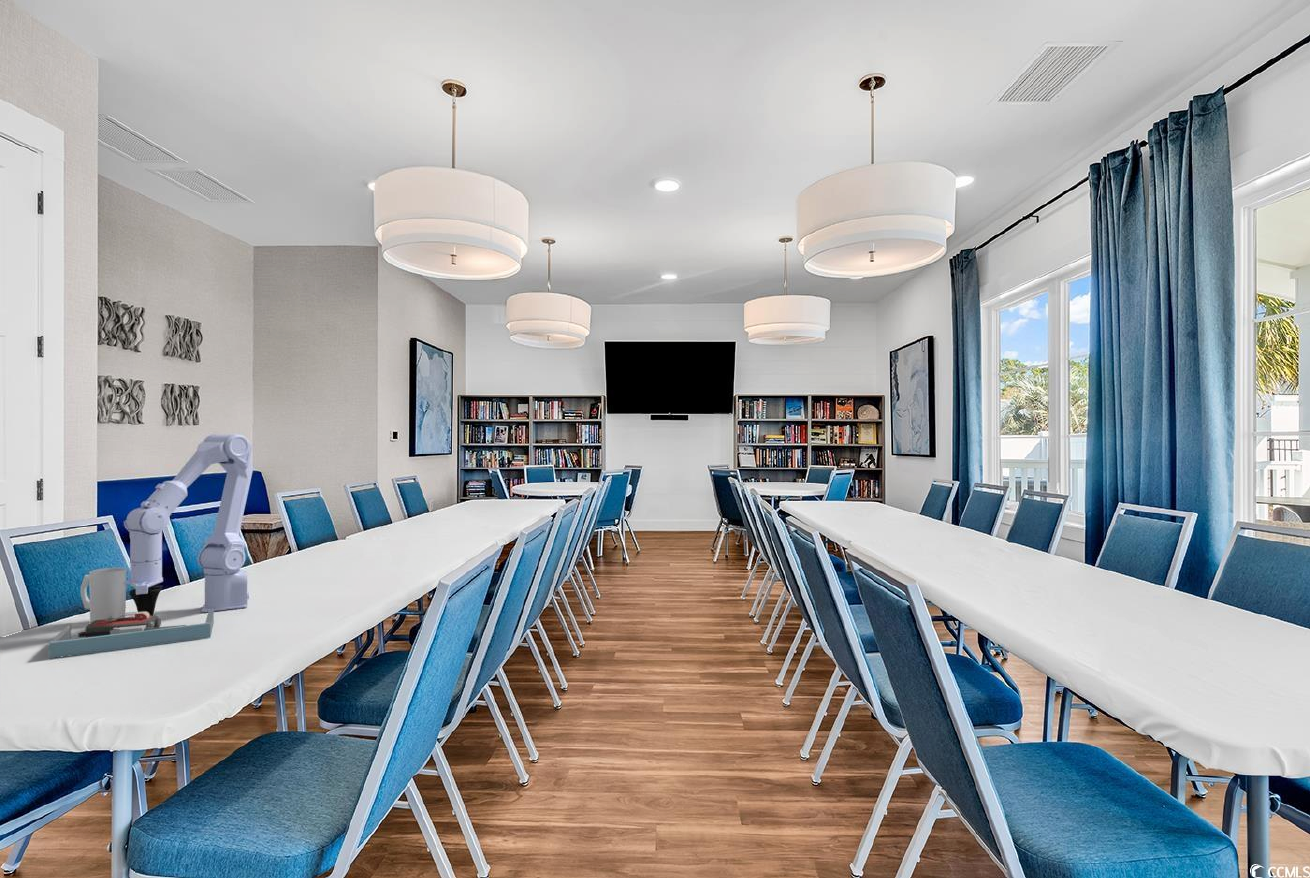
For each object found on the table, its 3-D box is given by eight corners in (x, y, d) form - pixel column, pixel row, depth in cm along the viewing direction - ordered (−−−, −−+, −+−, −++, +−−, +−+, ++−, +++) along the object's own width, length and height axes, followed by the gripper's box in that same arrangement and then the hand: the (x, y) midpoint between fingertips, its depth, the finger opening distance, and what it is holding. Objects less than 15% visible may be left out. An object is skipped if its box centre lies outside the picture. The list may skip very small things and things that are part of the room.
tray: (213, 623, 151) (213, 610, 151) (210, 637, 140) (210, 623, 140) (64, 642, 137) (64, 627, 137) (48, 658, 127) (48, 643, 127)
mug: (134, 617, 156) (134, 567, 156) (108, 625, 149) (108, 573, 149) (94, 617, 157) (94, 567, 157) (67, 624, 150) (67, 572, 150)
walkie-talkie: (72, 644, 137) (185, 634, 144) (72, 623, 136) (185, 614, 143) (91, 633, 145) (198, 623, 152) (91, 613, 145) (198, 604, 152)
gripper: (129, 557, 153) (129, 614, 153) (118, 567, 141) (118, 630, 141) (166, 554, 157) (166, 610, 157) (158, 564, 144) (158, 625, 144)
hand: (146, 619), depth 149 cm, fingers closed
